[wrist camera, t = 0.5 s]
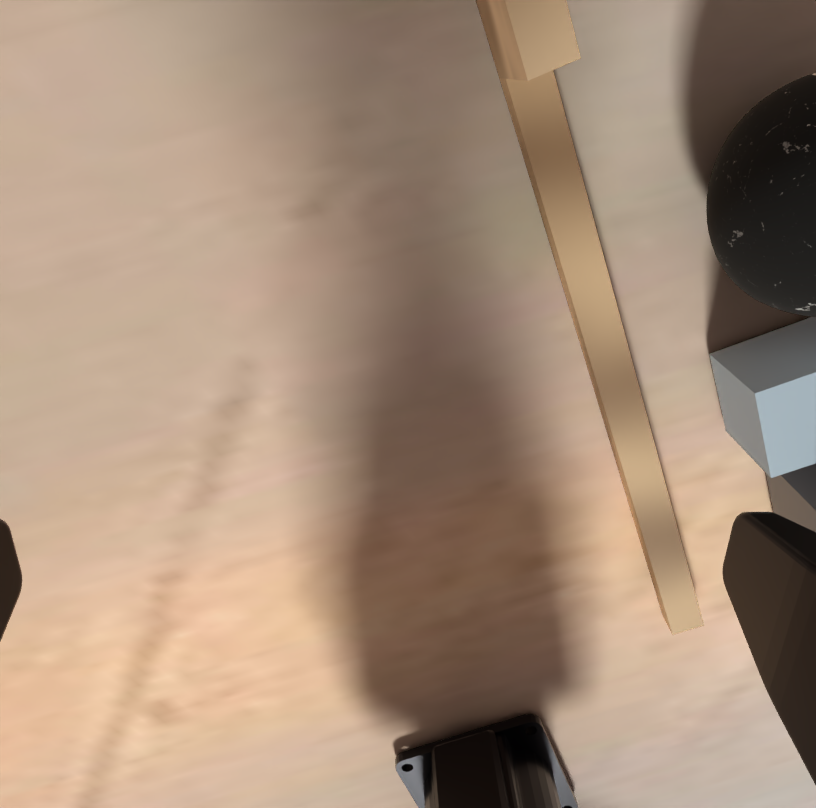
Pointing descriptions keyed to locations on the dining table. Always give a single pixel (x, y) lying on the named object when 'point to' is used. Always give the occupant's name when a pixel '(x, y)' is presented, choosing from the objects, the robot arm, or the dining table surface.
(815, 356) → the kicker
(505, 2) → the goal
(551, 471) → the dining table surface
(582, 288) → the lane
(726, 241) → the billiard ball
